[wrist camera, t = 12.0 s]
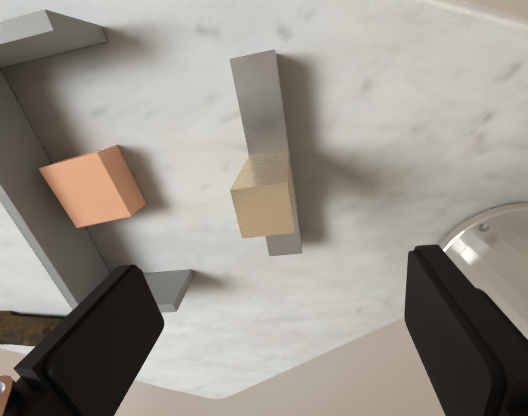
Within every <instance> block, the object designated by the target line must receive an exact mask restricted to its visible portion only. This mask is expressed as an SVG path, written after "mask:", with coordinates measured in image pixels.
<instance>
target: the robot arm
mask: <svg viewBox="0 0 528 416" xmlns="http://www.w3.org/2000/svg"><path fill="white" fill-rule="evenodd" d="M405 322H406V326H407V328H408V331H409V333H410V335H411V337H412V340H413V342H414V344H415V346H416V349H417V351H418V353H419V356H420V358H421V360H422V363H423V365H424V367H425V369H426V372H427V374H428V376H429V378H430V381H431V383H432V385H433V388H434V390H435V392H436V395H437V397H438V399H439V401H440V404H441V406H442V408H443V411H444V413H445V415H446V416H528V203H518V204H508V205H504V206H500V207H496V208H492V209H490V210H487V211H485V212H482V213H480V214H477V215H475V216H474V217H472V218H470V219H468V220H466V221H465V222H463V223H462V224H460V225H459V226H458V227H456V228H455V229H454V230H452V231H451V232H450V233H449V234H448V235H447V236H446V237H445V238H444V239H443V240H442V242H441V243H440V245H422V246H416V247H415V249H414V251H409V253H408V266H407V282H406V298H405ZM163 328H164V319H163V317H162V315H161V312H160V310H159V308H158V306H157V303H156V301H155V299H154V297H153V295H152V292H151V290H150V288H149V286H148V283H147V281H146V279H145V277H144V274H143V272H142V270H141V269H139V268H138V267H137V266H136V265H123V266H118V267H117V268H115V269H114V270H113V271H112V272H111V273H110V274H109V275H108V276H107V277H106V278H105V279H104V280H103V281H102V282H101V283H100V284H99V285H98V286H97V287H96V288H95V289H94V290H93V291H92V292H91V293H90V294H89V295H88V296H87V297H86V298H85V299H84V300H83V301H82V302H81V303H80V304H79V305H78V306H77V307H76V308H75V309H74V310H73V311H72V312H71V313H70V314H68V315H67V316H66V317H65V318H64V319H63V320H62V321H61V322H60V323H59V324H58V325H57V326H56V327H55V328H54V329H53V330H52V331H51V332H50V333H49V334H48V335H47V336H46V337H45V338H44V339H43V340H42V341H41V342H40V343H39V344H38V345H37V346H36V347H35V348H34V349H33V350H32V351H31V352H30V353H29V354H28V355H27V356H26V357H25V358H24V359H23V360H22V361H21V362H19V364H17V365H16V366H15V367H14V370H15V371H16V372H17V373H18V374H19V375H20V378H19V379H18V381H17V382H15V381H14V380H13V379H12V378H11V377H10V376H7V375H3V376H0V416H114V414H115V413H116V411H117V409H118V407H119V406H120V404H121V402H122V400H123V399H124V397H125V395H126V393H127V392H128V390H129V388H130V386H131V385H132V383H133V381H134V379H135V378H136V376H137V374H138V372H139V371H140V369H141V367H142V365H143V364H144V362H145V360H146V358H147V357H148V355H149V353H150V351H151V350H152V348H153V346H154V344H155V343H156V341H157V339H158V337H159V336H160V334H161V332H162V330H163Z"/></svg>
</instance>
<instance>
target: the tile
mask: <svg viewBox="0 0 528 416" xmlns="http://www.w3.org/2000/svg"><path fill="white" fill-rule="evenodd" d="M38 169H39V170H40V172H41V174H42V175H43V177H44V178H45V180H46V181H47V183H48V184H49V186H50V187H51V189H52V191H53V192H54V194H55V195H56V197H57V198H58V200H59V201H60V203H61V204H62V206H63V208H64V209H65V211H66V212H67V214H68V215H69V217H70V218H71V220H72V222H73V223H74V225H75V226H76V228H79V227H84V226H88V225H93V224H98V223H103V222H107V221H112V220H117V219H121V218H126V217H131V216H132V215H133V214H135V213H136V212H137V211H138V210H139V209H141V208H142V207H143V206H144V205H145V204H146V202H145V200H144V198H143V196H142V194H141V192H140V190H139V188H138V186H137V184H136V182H135V180H134V178H133V176H132V174H131V172H130V170H129V168H128V166H127V164H126V162H125V160H124V158H123V156H122V154H121V151H120V149H119V147H118V145H115V146H111V147H108V148H104V149H100V150H97V151H93V152H90V153H86V154H82V155H79V156H75V157H72V158H68V159H65V160H61V161H58V162H56V163H53V164H50V165H47V166H44V167H41V168H38Z"/></svg>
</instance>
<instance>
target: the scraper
mask: <svg viewBox="0 0 528 416" xmlns="http://www.w3.org/2000/svg"><path fill="white" fill-rule="evenodd" d="M230 63H231V68H232V73H233V78H234V83H235V88H236V93H237V98H238V103H239V108H240V113H241V118H242V123H243V128H244V133H245V137H246V142H247V147H248V152H249V156H248V158H247V160H246V162H245V164H244V166H243V167H242V169H241V171H240V173H239V175H238V177H237V178H236V180H235V182H234V184H233V186H232V188H231V189H230V191H231V195H232V199H233V203H234V207H235V211H236V215H237V219H238V223H239V228H240V232H241V236H242V238H249V237H259V236H266V241H267V246H268V251H269V256H277V255H288V254H299V253H302V243H301V232H300V225H299V217H298V210H297V202H296V195H295V187H294V180H293V172H292V165H291V157H290V150H289V142H288V135H287V127H286V120H285V112H284V105H283V97H282V90H281V82H280V75H279V67H278V60H277V53H276V51H275V49H274V50H270V51H265V52H261V53H256V54H251V55H247V56H242V57H237V58H233V59H230Z"/></svg>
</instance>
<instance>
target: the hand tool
mask: <svg viewBox="0 0 528 416" xmlns="http://www.w3.org/2000/svg"><path fill="white" fill-rule="evenodd" d="M62 320H63V319H59V318H51V317H48V318H44V317H28V316H18V315H17V314H16V313H15V312H13V311H0V344H12V345H25V346H37V345H38V344H39V343H40V342H41V341H42V340H43V339H44V338H45V337H46V336H47V335H48V334H49V333H50V332H51V331H52V330H53V329H54V328H55V327H56V326H57V325H58V324H59V323H60V322H61V321H62Z"/></svg>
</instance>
